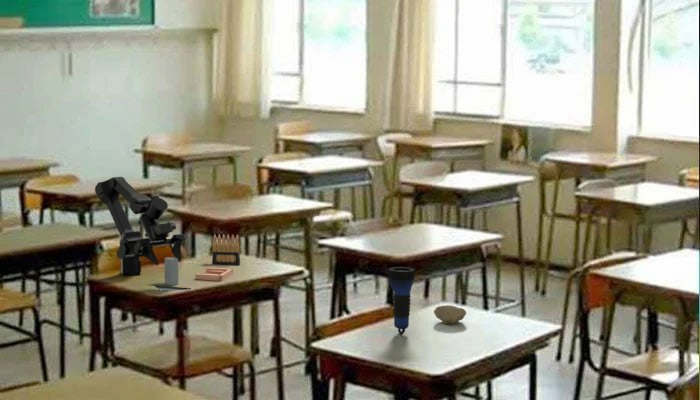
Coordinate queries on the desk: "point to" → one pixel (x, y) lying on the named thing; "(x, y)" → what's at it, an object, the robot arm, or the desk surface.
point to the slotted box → (215, 274)
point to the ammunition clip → (226, 251)
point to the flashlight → (401, 295)
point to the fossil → (449, 314)
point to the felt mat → (170, 288)
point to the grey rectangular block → (171, 271)
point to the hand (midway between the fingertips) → (169, 262)
